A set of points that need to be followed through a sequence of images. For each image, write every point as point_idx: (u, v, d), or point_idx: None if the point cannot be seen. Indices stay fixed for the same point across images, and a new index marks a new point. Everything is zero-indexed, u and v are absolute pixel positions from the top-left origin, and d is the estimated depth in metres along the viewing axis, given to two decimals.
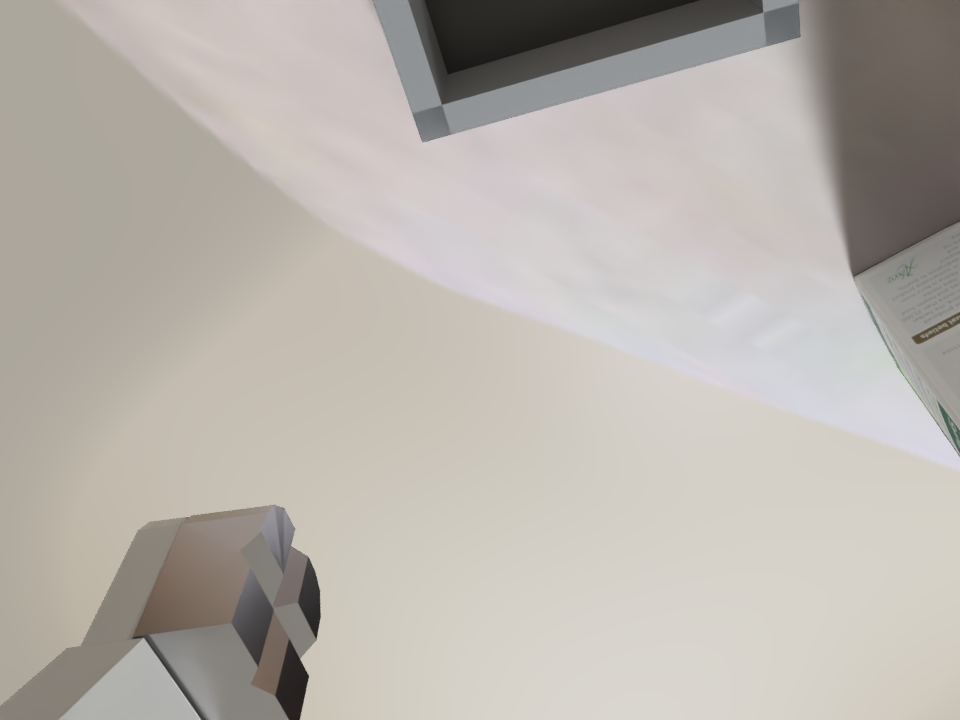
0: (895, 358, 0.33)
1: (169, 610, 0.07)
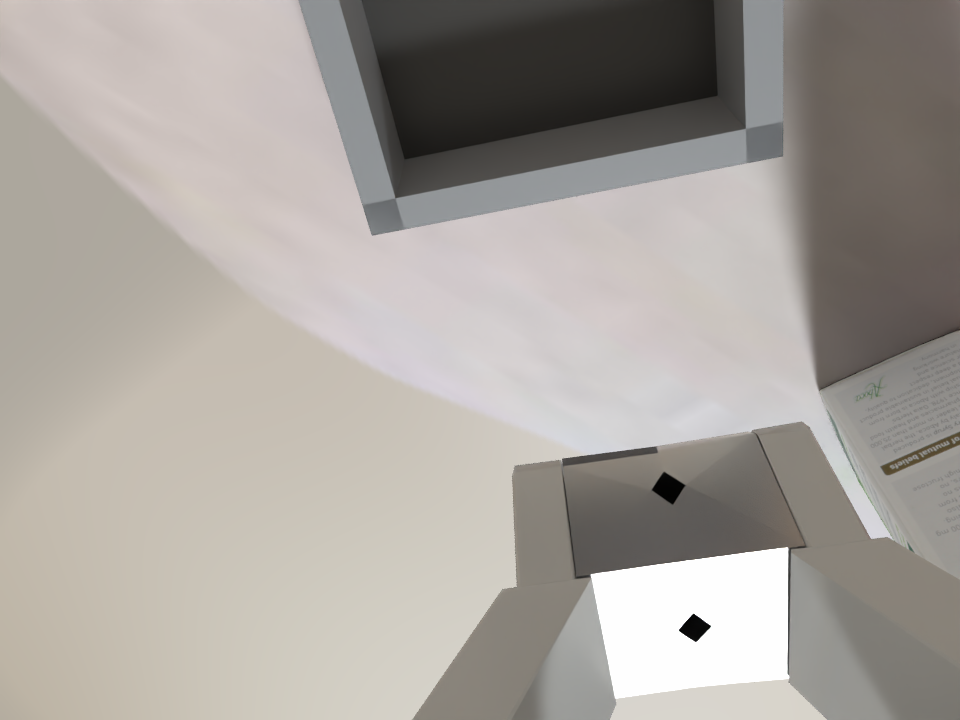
0: (859, 478, 0.31)
1: (604, 550, 0.07)
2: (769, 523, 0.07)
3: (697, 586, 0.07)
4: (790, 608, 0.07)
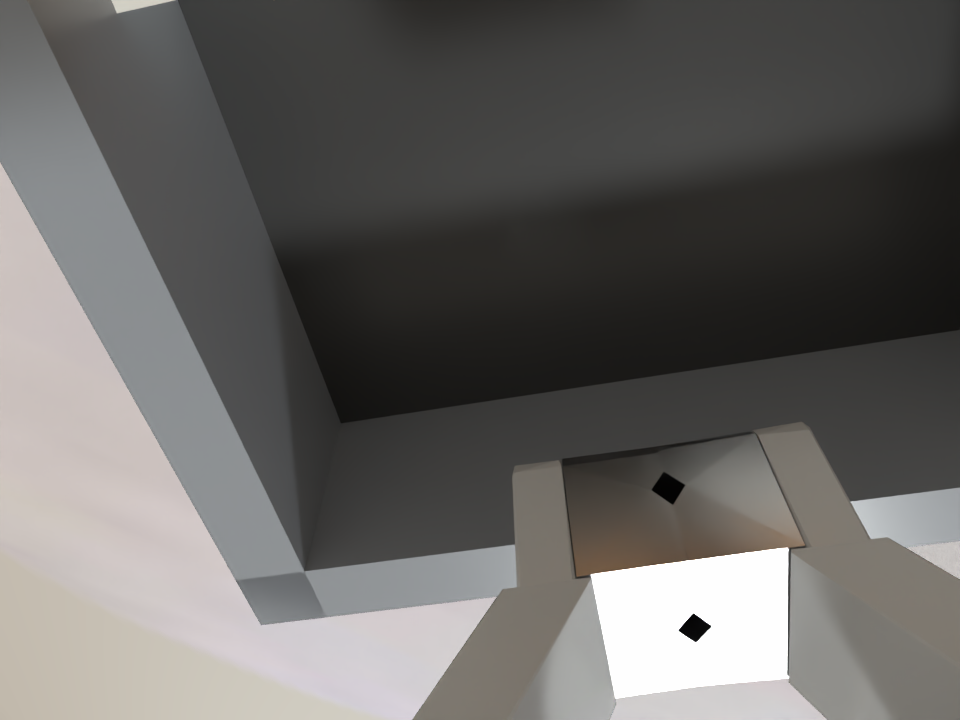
0: None
1: (604, 549, 0.07)
2: (769, 523, 0.07)
3: (697, 586, 0.07)
4: (790, 607, 0.07)
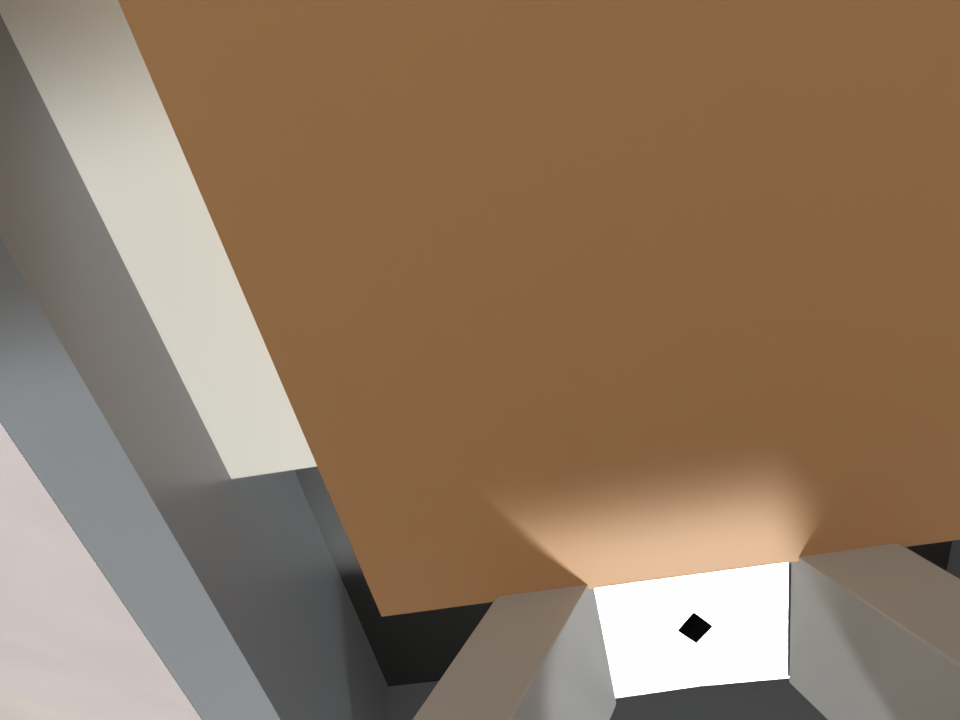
0: None
1: None
2: None
3: (698, 586, 0.07)
4: (791, 608, 0.07)
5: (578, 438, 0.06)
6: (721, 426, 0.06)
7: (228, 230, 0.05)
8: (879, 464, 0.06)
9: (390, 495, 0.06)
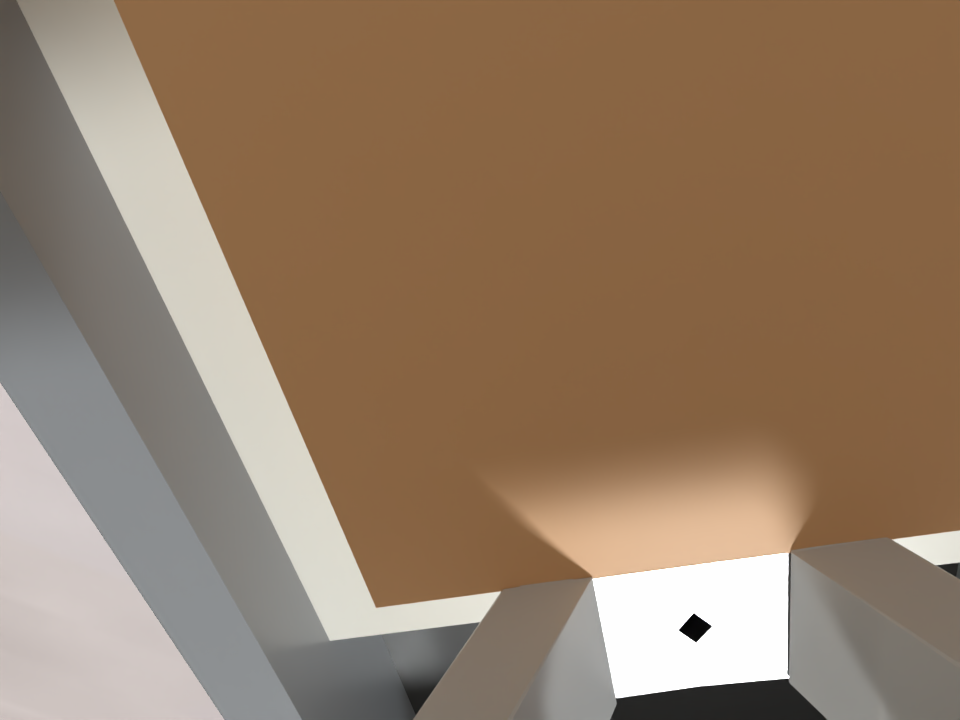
0: None
1: None
2: None
3: (697, 585, 0.07)
4: (791, 607, 0.07)
5: (570, 432, 0.06)
6: (710, 418, 0.06)
7: (224, 223, 0.05)
8: (867, 456, 0.06)
9: (383, 487, 0.06)
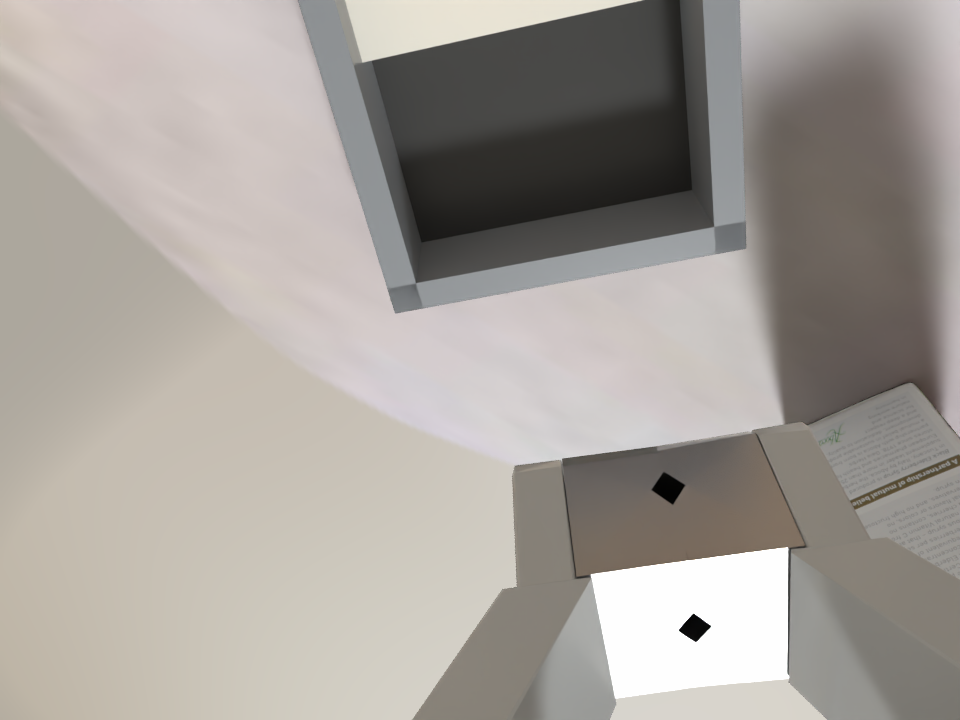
0: None
1: (604, 550, 0.07)
2: (769, 523, 0.07)
3: (697, 586, 0.07)
4: (790, 608, 0.07)
5: None
6: None
7: None
8: None
9: None
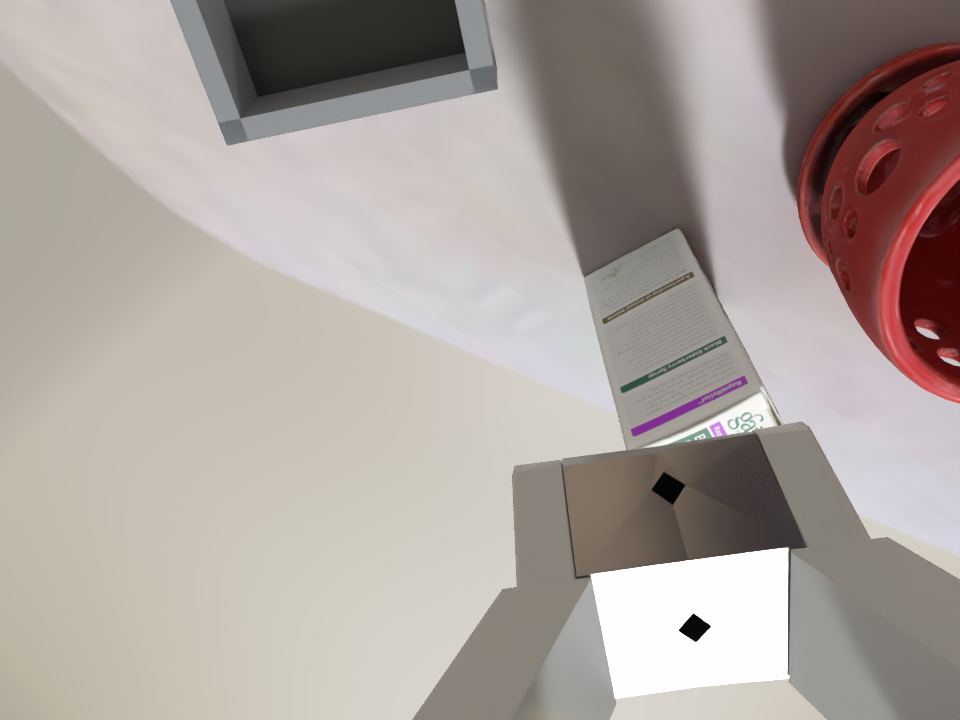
0: None
1: (604, 549, 0.07)
2: (769, 523, 0.07)
3: (697, 586, 0.07)
4: (790, 609, 0.07)
5: None
6: None
7: None
8: None
9: None
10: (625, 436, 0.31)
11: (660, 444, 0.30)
